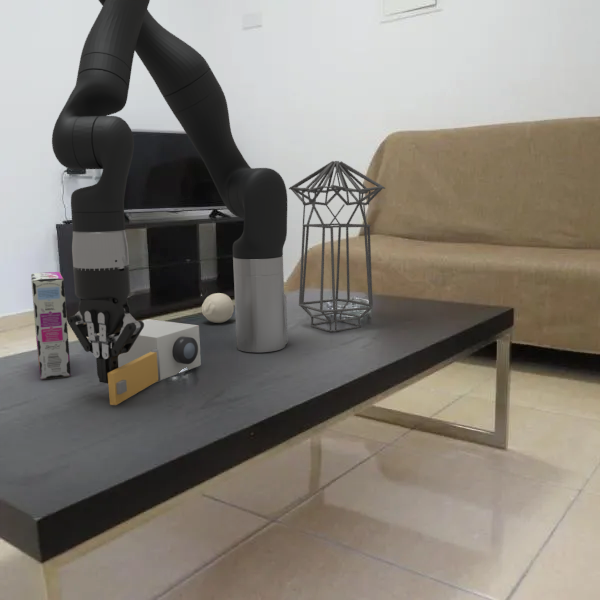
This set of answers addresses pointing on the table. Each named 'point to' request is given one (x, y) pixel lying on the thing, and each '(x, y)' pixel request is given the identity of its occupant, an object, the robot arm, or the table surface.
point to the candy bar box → (51, 325)
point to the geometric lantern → (324, 172)
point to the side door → (133, 377)
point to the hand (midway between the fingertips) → (108, 381)
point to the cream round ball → (218, 308)
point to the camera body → (167, 346)
